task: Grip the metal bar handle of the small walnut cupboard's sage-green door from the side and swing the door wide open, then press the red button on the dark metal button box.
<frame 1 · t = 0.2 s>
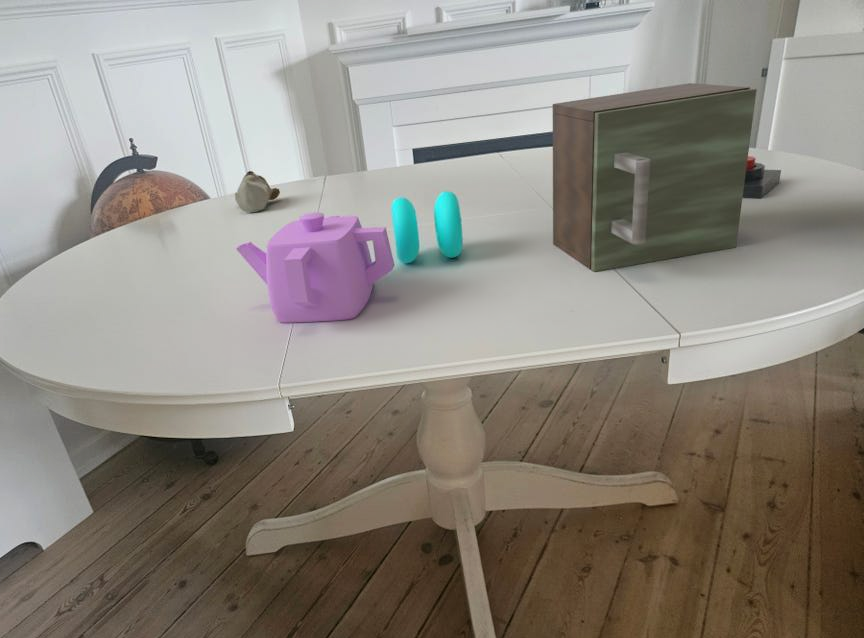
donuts: (429, 260, 99), on the table
teakettle: (324, 302, 88), on the table
cupboard door: (683, 188, 78), point 10 cm above the table, hinge at 0.0°
ceramic sculpture: (257, 208, 149), on the table
start button: (741, 163, 110), point 4 cm above the table, slide at 0.1 cm
cupboard: (636, 245, 92), on the table
button box: (738, 189, 112), on the table
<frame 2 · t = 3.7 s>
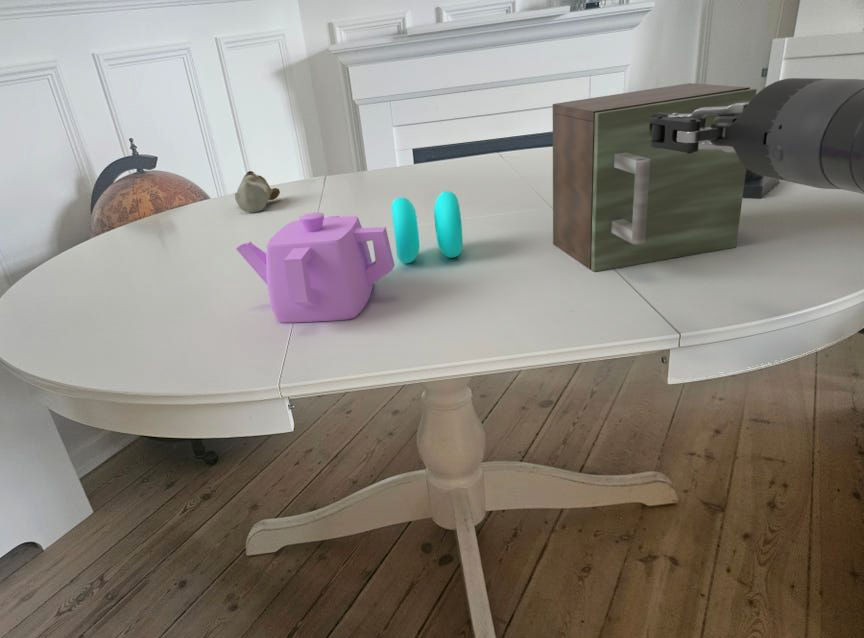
hand: (695, 118, 62), 21 cm above the table, tool horizontal, fingers open, 8 cm apart
nothing on the table moved.
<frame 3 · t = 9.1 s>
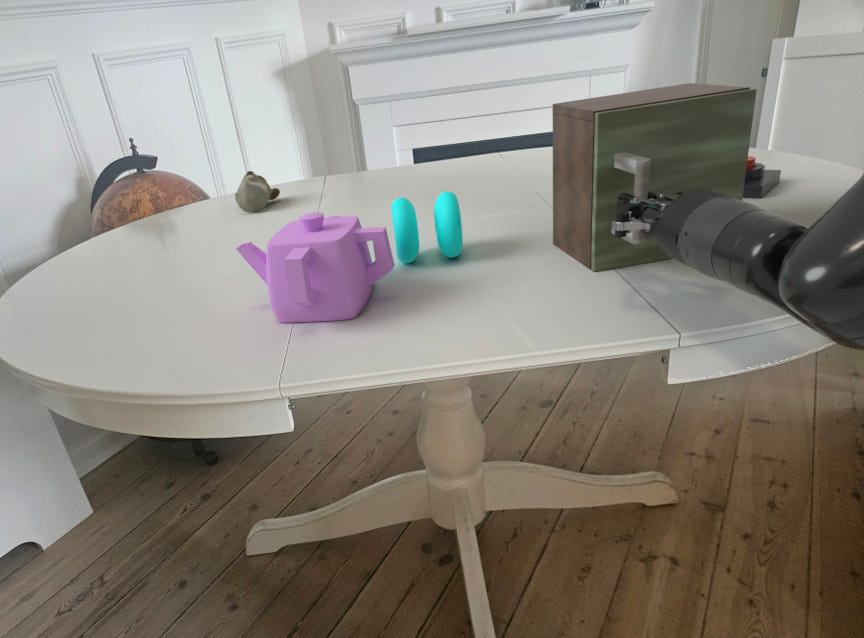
hand: (629, 200, 78), 10 cm above the table, tool horizontal, fingers closed on cupboard door
cupboard door: (683, 188, 78), point 10 cm above the table, hinge at 0.0°, touching gripper
everything else where it was.
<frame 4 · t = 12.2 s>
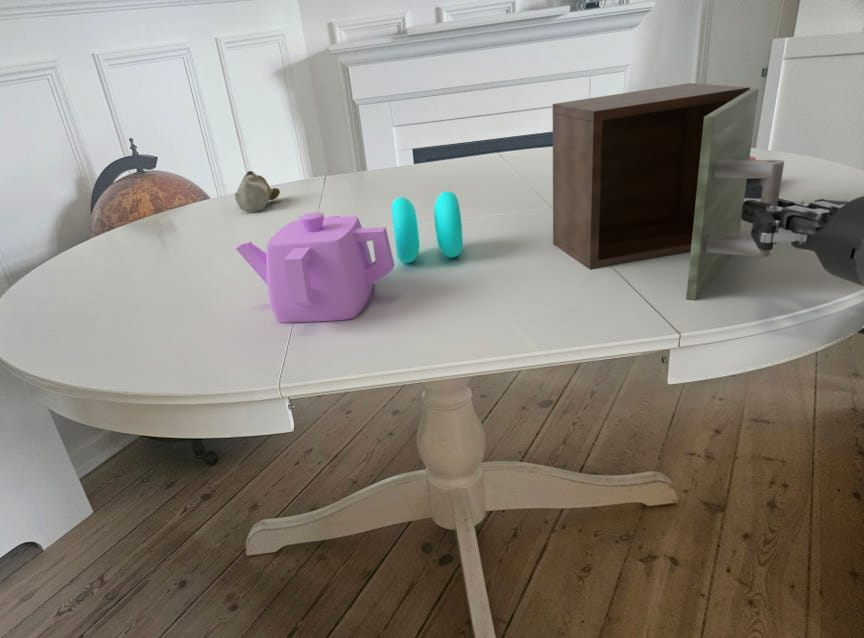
hand: (754, 207, 69), 10 cm above the table, tool horizontal, fingers closed on cupboard door, 2 cm apart
cupboard door: (753, 192, 73), point 10 cm above the table, hinge at 43.0°, touching gripper
everything else where it was.
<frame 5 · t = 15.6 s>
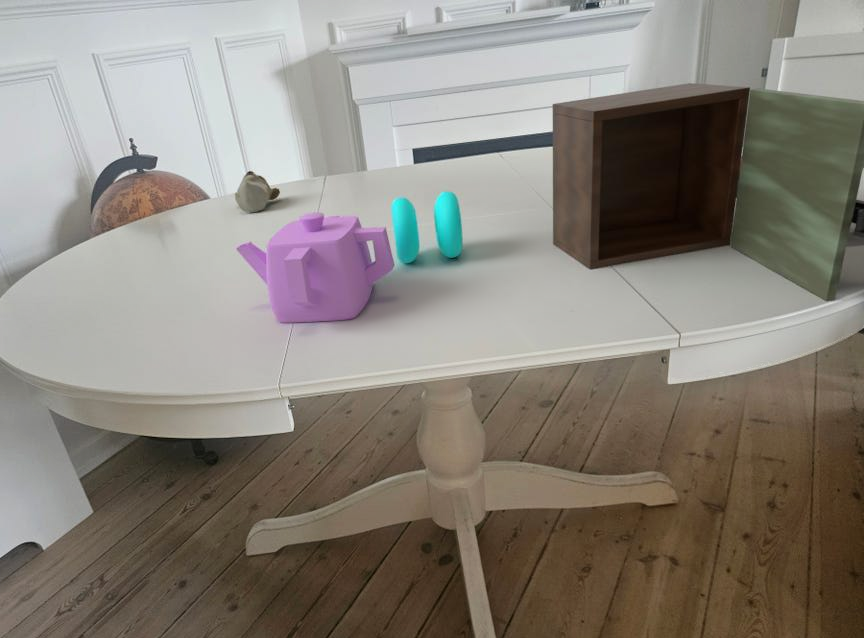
cupboard door: (817, 184, 73), point 10 cm above the table, hinge at 82.5°, touching gripper
everything else where it was.
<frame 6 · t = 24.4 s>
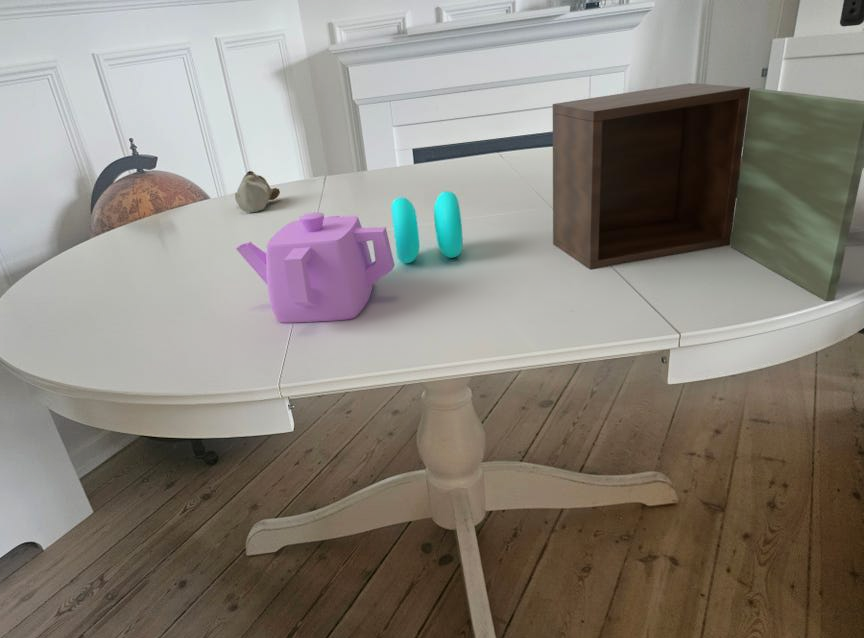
hand: (857, 22, 74), 26 cm above the table, tool pointing down, fingers open, 8 cm apart
cupboard door: (817, 184, 73), point 10 cm above the table, hinge at 82.4°
everything else where it was.
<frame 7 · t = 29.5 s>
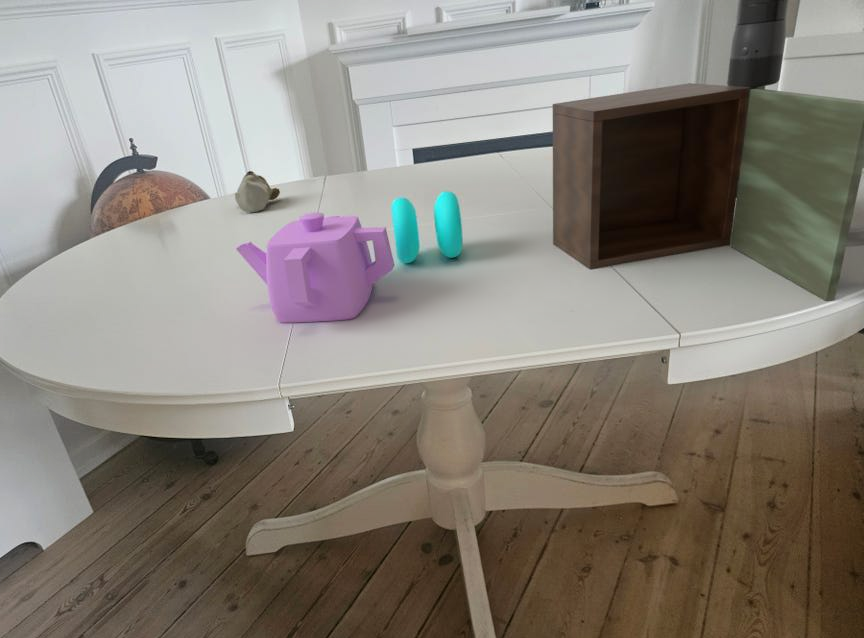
hand: (742, 162, 110), 5 cm above the table, tool pointing down, fingers closed
start button: (741, 168, 110), point 4 cm above the table, slide at -0.7 cm, touching gripper
everything else where it was.
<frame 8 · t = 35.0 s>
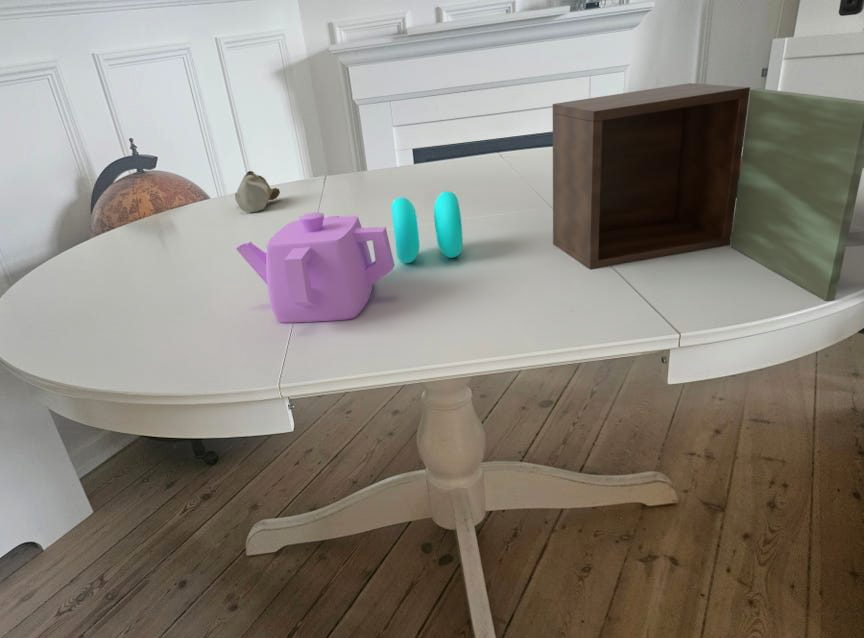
hand: (850, 14, 76), 27 cm above the table, tool pointing down, fingers closed
start button: (741, 163, 110), point 4 cm above the table, slide at 0.1 cm
everything else where it was.
at the end: cupboard door at +82° (first picture: +0°); start button pushed in 1.2 cm at the most during the clip, back to where it started at the end; start button slide at 0.1 cm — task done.
